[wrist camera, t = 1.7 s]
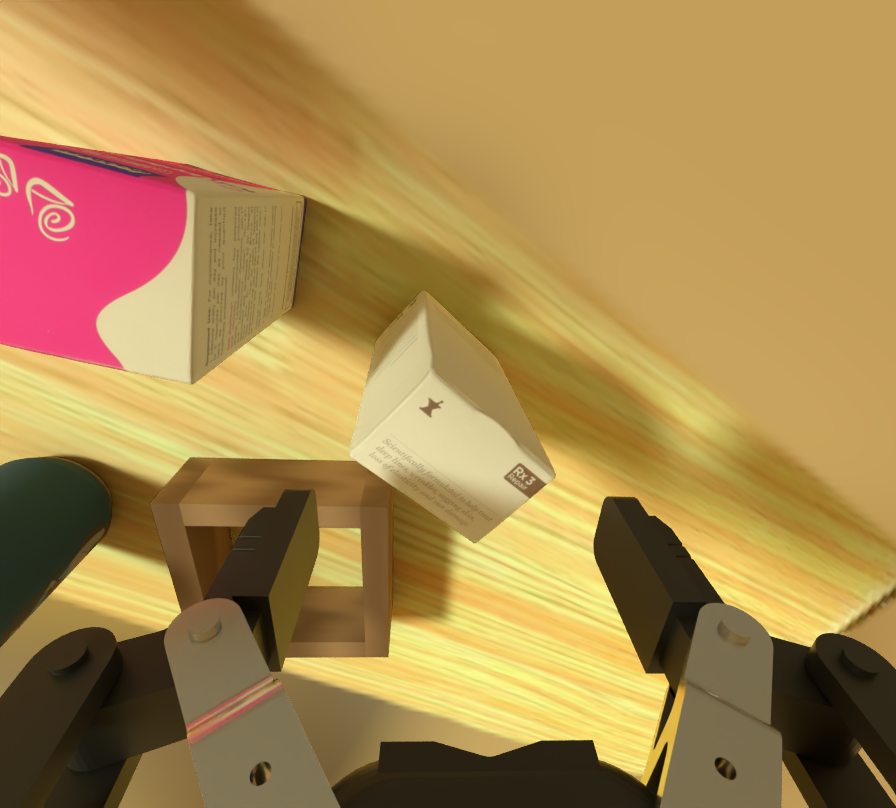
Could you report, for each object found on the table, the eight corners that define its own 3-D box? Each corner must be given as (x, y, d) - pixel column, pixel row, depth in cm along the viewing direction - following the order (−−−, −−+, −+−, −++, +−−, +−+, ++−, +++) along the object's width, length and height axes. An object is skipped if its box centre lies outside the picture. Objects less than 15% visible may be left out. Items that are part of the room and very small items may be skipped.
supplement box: (309, 191, 22) (202, 194, 11) (295, 308, 24) (196, 398, 14) (183, 156, 21) (-56, 124, 10) (182, 281, 23) (-13, 355, 13)
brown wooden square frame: (223, 600, 33) (194, 657, 29) (190, 457, 28) (149, 503, 24) (392, 601, 34) (388, 657, 30) (393, 462, 29) (387, 507, 25)
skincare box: (373, 342, 25) (331, 459, 14) (426, 282, 24) (425, 362, 13) (451, 408, 27) (468, 555, 16) (505, 356, 26) (562, 479, 15)
